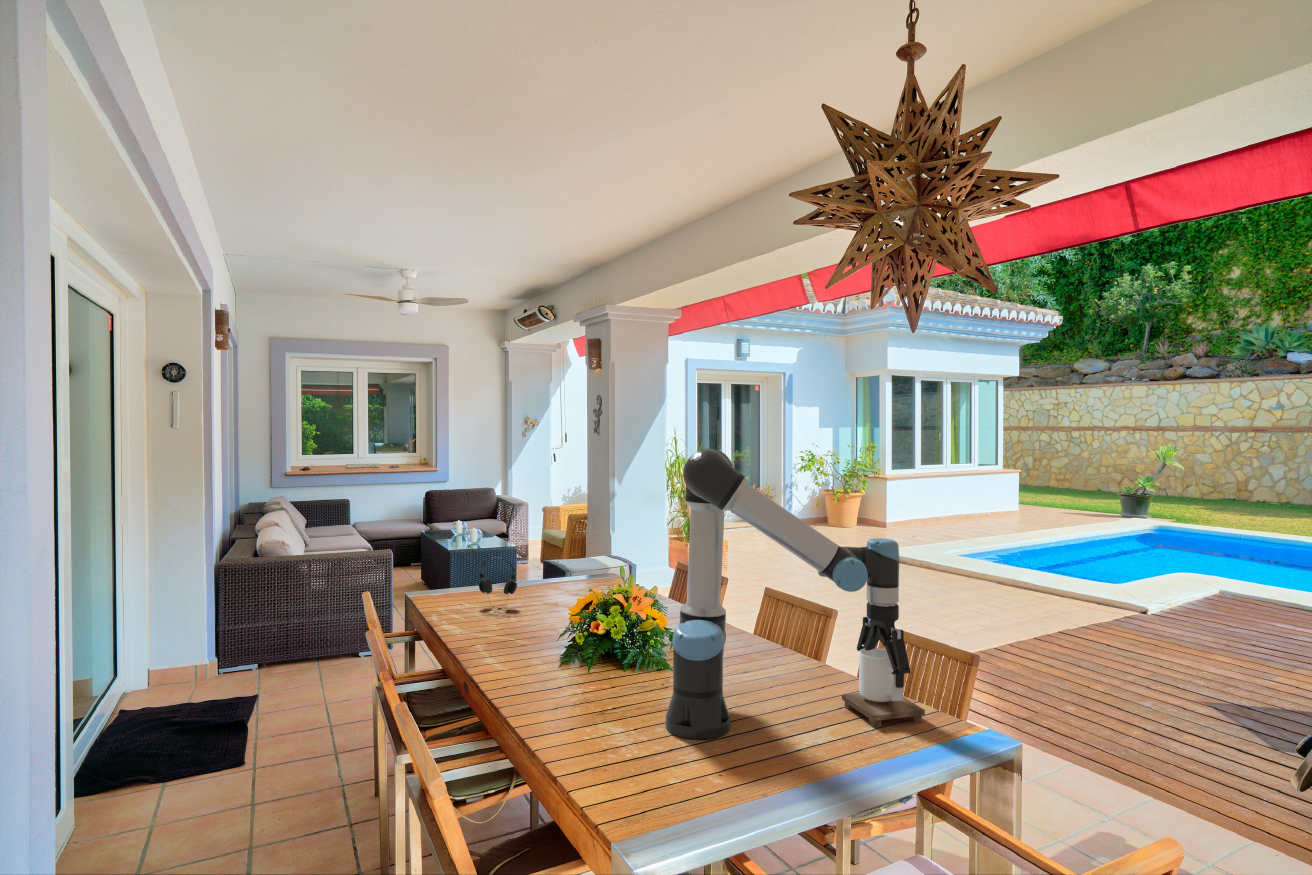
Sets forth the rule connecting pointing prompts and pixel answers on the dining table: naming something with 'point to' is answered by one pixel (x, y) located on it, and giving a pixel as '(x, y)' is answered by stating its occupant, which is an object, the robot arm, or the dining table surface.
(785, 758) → the dining table surface
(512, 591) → the headphones
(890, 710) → the stand
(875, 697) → the mug
